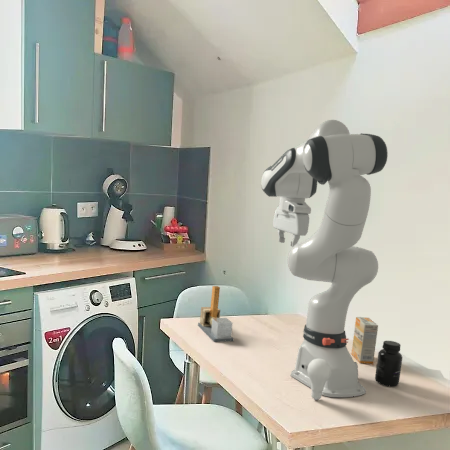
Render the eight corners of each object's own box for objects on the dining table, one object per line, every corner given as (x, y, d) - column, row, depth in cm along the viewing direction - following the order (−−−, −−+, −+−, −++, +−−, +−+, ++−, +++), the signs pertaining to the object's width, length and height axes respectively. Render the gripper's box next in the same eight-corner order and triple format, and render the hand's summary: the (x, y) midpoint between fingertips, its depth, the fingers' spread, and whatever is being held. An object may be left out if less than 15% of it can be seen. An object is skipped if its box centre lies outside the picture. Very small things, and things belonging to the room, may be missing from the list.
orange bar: (223, 331, 182) (227, 291, 180) (214, 331, 181) (217, 291, 179) (214, 322, 191) (217, 284, 190) (205, 322, 190) (208, 284, 188)
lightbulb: (325, 406, 134) (330, 365, 132) (302, 401, 136) (306, 360, 134) (329, 397, 139) (333, 357, 138) (306, 392, 141) (310, 353, 140)
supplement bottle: (400, 389, 150) (405, 348, 149) (375, 385, 151) (380, 344, 150) (397, 380, 157) (402, 341, 155) (373, 376, 158) (378, 337, 157)
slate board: (233, 341, 178) (233, 338, 178) (213, 341, 175) (214, 339, 175) (215, 325, 194) (216, 322, 194) (197, 325, 192) (198, 322, 192)
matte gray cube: (231, 338, 177) (232, 322, 177) (216, 338, 176) (218, 323, 175) (225, 332, 183) (226, 317, 182) (211, 333, 181) (212, 318, 180)
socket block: (218, 326, 190) (220, 310, 189) (203, 326, 188) (204, 310, 187) (215, 322, 194) (216, 306, 193) (199, 323, 191) (201, 307, 191)
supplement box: (350, 354, 176) (355, 316, 174) (364, 355, 176) (369, 317, 175) (359, 363, 168) (364, 323, 166) (373, 364, 168) (378, 324, 167)
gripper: (270, 202, 193) (267, 239, 195) (297, 208, 174) (292, 249, 176) (286, 203, 196) (282, 240, 197) (313, 209, 177) (309, 249, 178)
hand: (287, 244), depth 186 cm, fingers open, 8 cm apart
